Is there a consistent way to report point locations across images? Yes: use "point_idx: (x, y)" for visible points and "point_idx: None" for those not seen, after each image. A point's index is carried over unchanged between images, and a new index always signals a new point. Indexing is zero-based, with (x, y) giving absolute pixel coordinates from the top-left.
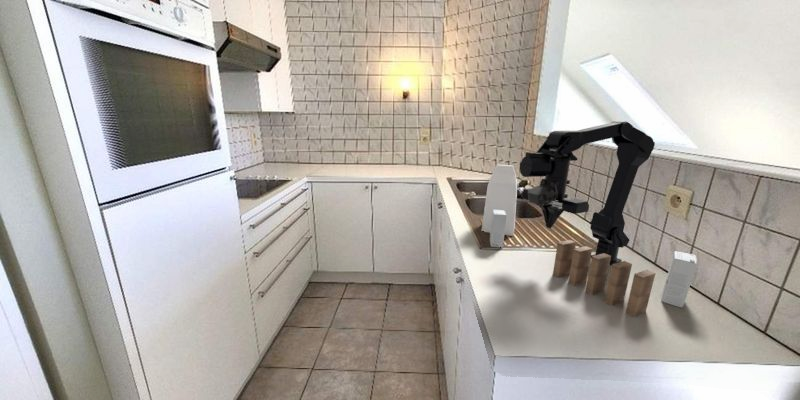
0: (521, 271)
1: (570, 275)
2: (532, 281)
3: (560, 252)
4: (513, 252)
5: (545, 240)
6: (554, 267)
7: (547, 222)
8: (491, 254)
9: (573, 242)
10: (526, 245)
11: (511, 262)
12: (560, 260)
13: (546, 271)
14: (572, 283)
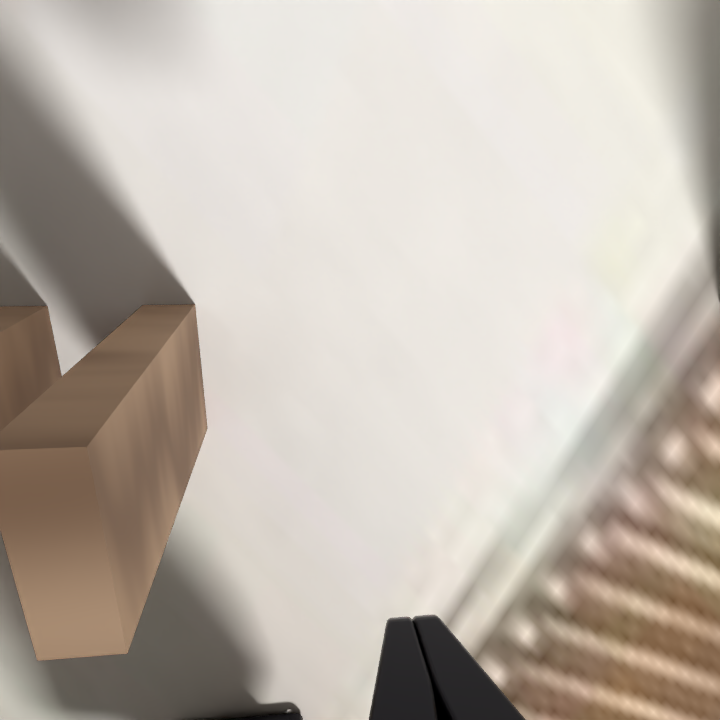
0: (337, 92)
1: (1, 325)
2: (150, 23)
3: (67, 389)
4: (616, 323)
5: (605, 663)
6: (173, 322)
7: (443, 700)
8: (706, 103)
9: (28, 629)
10: (633, 504)
11: (502, 152)
12: (90, 355)
13: (254, 301)
14: (3, 309)
